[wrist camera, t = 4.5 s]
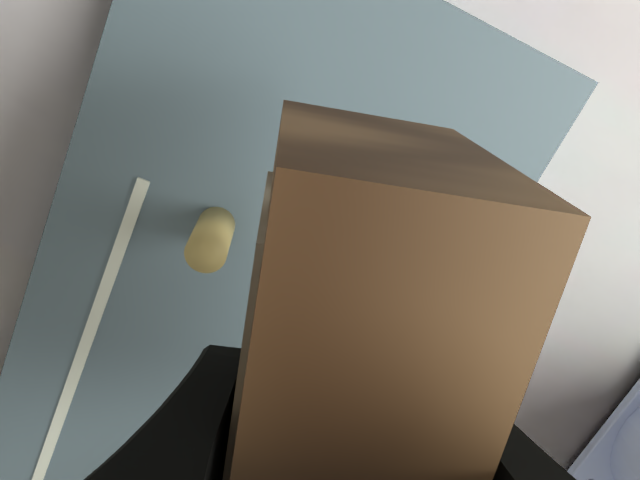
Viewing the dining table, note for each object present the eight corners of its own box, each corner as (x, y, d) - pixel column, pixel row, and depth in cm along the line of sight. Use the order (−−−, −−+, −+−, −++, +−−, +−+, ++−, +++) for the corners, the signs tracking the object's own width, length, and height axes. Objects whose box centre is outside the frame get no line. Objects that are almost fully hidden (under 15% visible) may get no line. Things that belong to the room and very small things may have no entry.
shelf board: (579, 79, 18) (648, 91, 14) (295, 549, 25) (296, 633, 22) (167, -139, 15) (130, -188, 12) (-16, 461, 22) (-72, 540, 19)
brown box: (452, 128, 11) (590, 217, 6) (356, 496, 15) (391, 747, 10) (278, 98, 11) (266, 165, 6) (222, 483, 14) (184, 739, 9)
